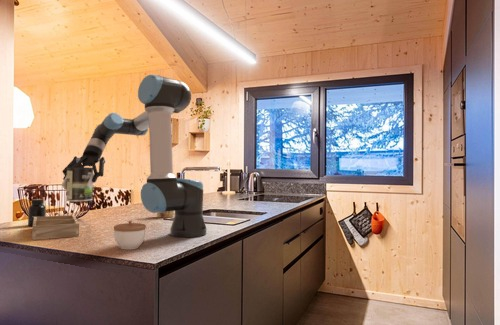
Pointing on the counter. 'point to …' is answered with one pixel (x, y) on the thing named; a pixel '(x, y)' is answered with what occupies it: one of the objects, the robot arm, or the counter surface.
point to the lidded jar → (129, 235)
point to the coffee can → (79, 184)
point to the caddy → (55, 227)
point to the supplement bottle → (36, 210)
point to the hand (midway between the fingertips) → (76, 187)
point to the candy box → (166, 214)
